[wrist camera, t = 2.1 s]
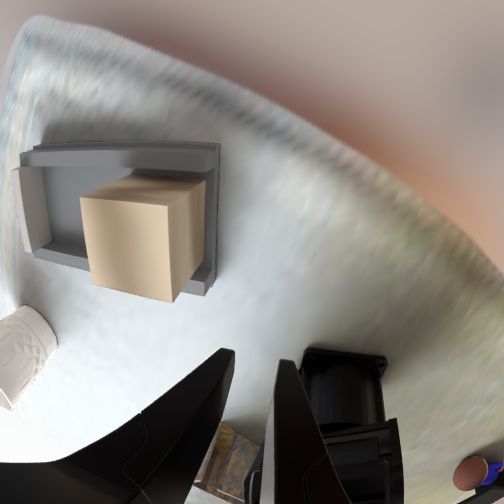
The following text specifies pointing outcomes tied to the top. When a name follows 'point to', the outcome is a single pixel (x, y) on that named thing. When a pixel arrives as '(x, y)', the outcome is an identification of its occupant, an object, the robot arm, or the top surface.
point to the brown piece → (226, 465)
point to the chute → (95, 176)
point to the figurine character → (480, 480)
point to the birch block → (145, 234)
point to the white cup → (23, 352)
